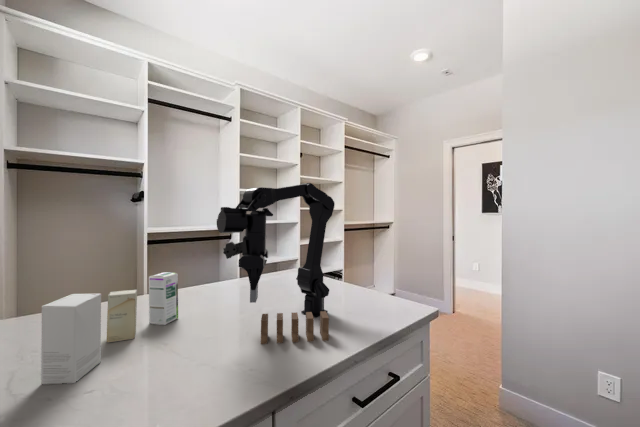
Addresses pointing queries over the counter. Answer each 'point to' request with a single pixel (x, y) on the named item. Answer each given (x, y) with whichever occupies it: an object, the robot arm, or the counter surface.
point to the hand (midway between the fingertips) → (254, 287)
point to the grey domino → (253, 295)
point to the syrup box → (163, 298)
